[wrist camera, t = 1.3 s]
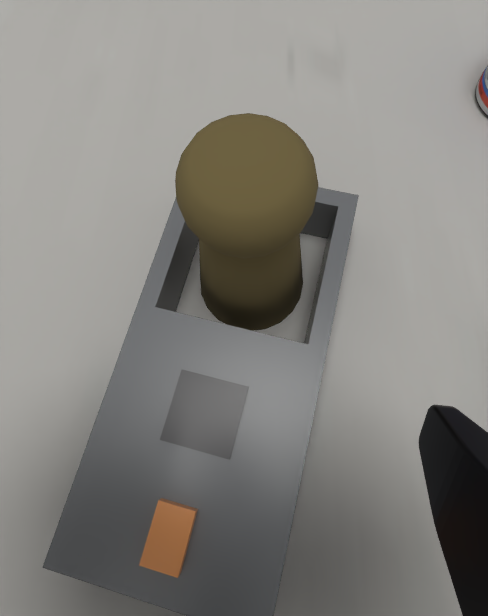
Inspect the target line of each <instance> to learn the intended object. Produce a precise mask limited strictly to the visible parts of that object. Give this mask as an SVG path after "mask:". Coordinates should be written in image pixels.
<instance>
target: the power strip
mask: <svg viewBox="0 0 488 616" xmlns="http://www.w3.org/2000/svg"><path fill="white" fill-rule="evenodd" d="M358 196H359V195H354V194H349V193H344V192H339V191H334V190H329V189H324V188H319V187H318V190H317V195H316V201H315V205H314V209H313V213H312V215H311V216H310V218H309V220H308V221H307V223H306V225H305V226H304V228H303V230H302V231H301V232H300V233H305V234H310V235H315V236H319V237H324V238H328V239H327V243H326V248H325V252H324V257H323V262H322V266H321V271H320V275H319V280H318V284H317V289H316V293H315V298H314V302H313V307H312V311H311V316H310V320H309V325H308V329H307V334H306V338H305V343H301V342H296V341H292V340H288V339H284V338H280V337H276V336H272V335H268V334H264V333H260V332H256V331H251V330H247V329H243V328H239V327H235V326H231V325H227V324H223V323H219V322H215V321H211V320H206V319H202V318H198V317H194V316H190V315H186V314H182V313H178V312H175V311H176V308H177V304H178V301H179V298H180V295H181V292H182V289H183V286H184V283H185V280H186V277H187V274H188V271H189V268H190V265H191V262H192V259H193V256H194V253H195V250H196V247H197V244H198V241H199V238H198V237H197V236H196V235H195V234H194V233H193V232H192V231H191V230H190V229H189V228H188V226H187V224H186V222H185V220H184V217H183V215H182V213H181V211H180V208H179V206H178V203H177V200H176V199H175V201H174V204H173V207H172V210H171V213H170V215H169V218H168V221H167V224H166V226H165V229H164V232H163V235H162V238H161V240H160V243H159V246H158V249H157V251H156V254H155V257H154V260H153V263H152V265H151V268H150V271H149V274H148V276H147V279H146V282H145V285H144V287H143V290H142V293H141V296H140V299H139V301H138V304H137V307H136V310H135V312H134V315H133V318H132V321H131V324H130V326H129V329H128V332H127V335H126V337H125V340H124V343H123V346H122V348H121V351H120V354H119V357H118V360H117V362H116V365H115V368H114V371H113V373H112V376H111V379H110V382H109V385H108V387H107V390H106V393H105V396H104V398H103V401H102V404H101V407H100V410H99V412H98V415H97V418H96V421H95V423H94V426H93V429H92V432H91V434H90V437H89V440H88V443H87V446H86V448H85V451H84V454H83V457H82V459H81V462H80V465H79V468H78V471H77V473H76V476H75V479H74V482H73V484H72V487H71V490H70V493H69V495H68V498H67V501H66V504H65V507H64V509H63V512H62V515H61V518H60V520H59V523H58V526H57V529H56V532H55V534H54V537H53V540H52V543H51V545H50V548H49V551H48V554H47V557H46V559H45V562H44V565H43V568H46V569H49V570H52V571H55V572H58V573H61V574H64V575H67V576H70V577H73V578H76V579H79V580H82V581H85V582H88V583H91V584H94V585H97V586H100V587H103V588H106V589H109V590H112V591H115V592H118V593H121V594H124V595H127V596H130V597H133V598H136V599H139V600H142V601H145V602H148V603H151V604H154V605H157V606H160V607H163V608H165V609H168V610H171V611H174V612H177V613H180V614H183V615H186V616H273V615H274V610H275V605H276V600H277V595H278V590H279V586H280V581H281V576H282V571H283V566H284V561H285V556H286V551H287V546H288V541H289V536H290V531H291V526H292V521H293V516H294V512H295V507H296V502H297V497H298V492H299V487H300V482H301V477H302V472H303V467H304V462H305V457H306V452H307V447H308V443H309V438H310V433H311V428H312V423H313V418H314V413H315V408H316V403H317V398H318V393H319V388H320V383H321V378H322V373H323V369H324V364H325V359H326V354H327V349H328V344H329V339H330V334H331V329H332V324H333V319H334V314H335V309H336V304H337V300H338V295H339V290H340V285H341V280H342V275H343V270H344V265H345V260H346V255H347V250H348V245H349V240H350V235H351V230H352V226H353V221H354V216H355V211H356V206H357V201H358Z"/></svg>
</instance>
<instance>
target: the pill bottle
mask: <svg viewBox="0 0 488 616" xmlns="http://www.w3.org/2000/svg"><path fill="white" fill-rule="evenodd" d="M476 97H477V101H478V103H479V105H480V107H481V108H482V110H483V111H484V112H485V113H486V114H487V115H488V66H487V67H486V69H485V70H484V72H483V74H482V76H481V77H480V79H479V81H478V84H477V88H476Z"/></svg>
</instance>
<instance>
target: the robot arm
mask: <svg viewBox="0 0 488 616" xmlns="http://www.w3.org/2000/svg"><path fill="white" fill-rule="evenodd" d="M419 450H420V455H421V460H422V465H423V470H424V475H425V480H426V485H427V490H428V495H429V500H430V505H431V510H432V515H433V519H434V524H435V527H436V531H437V534H438V538H439V541H440V544H441V547H442V551H443V554H444V557H445V560H446V563H447V567H448V570H449V573H450V576H451V579H452V582H453V586H454V589H455V592H456V595H457V598H458V602H459V605H460V608H461V611H462V614H463V616H488V432H486V431H485V430H484V429H482V428H481V427H480V426H478V425H477V424H476V423H475V422H473V421H472V420H471V419H469V418H468V417H467V416H465V415H464V414H463V413H461V412H460V411H459V410H458V409H456V408H454V407H452V406H442V405H432V406H430V408H429V409H428V412H427V415H426V418H425V421H424V424H423V427H422V430H421V433H420V436H419Z"/></svg>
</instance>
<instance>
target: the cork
mask: <svg viewBox="0 0 488 616" xmlns="http://www.w3.org/2000/svg"><path fill="white" fill-rule="evenodd" d="M175 182H176V200H177V203H178V206H179V208H180V211H181V213H182V215H183V217H184V220H185V222H186V224H187V226H188V228H189V229H190V230H191V231H192V232H193V233H194V234H195V235H196V236H197V237H198V238H199V251H200V280H201V294H202V296H203V299H204V301H205V303H206V306H207V308H208V309H209V310H210V311H211V312H212V313H213V314H214V316H215V317H216V318H217V319H218V320H220V321H222V322H223V323H225V324H227V325H231V326H235V327H239V328H243V329H247V330H260V329H266V328H268V327H271V326H273V325H275V324H278V323H280V322H281V321H282V320H283V319H285V318H286V317H287V316H288V315H289V314H290V313H291V312H292V311H293V310H294V308H295V306H296V304H297V303H298V301H299V299H300V296H301V290H302V285H303V278H302V264H301V250H300V236H299V234H300V232H301V231H302V230H303V228H304V226H305V225H306V223H307V221H308V220H309V218H310V216H311V215H312V213H313V209H314V205H315V201H316V195H317V190H318V180H317V174H316V169H315V163H314V158H313V156H312V154H311V152H310V151H309V149H308V147H307V146H306V144H305V142H304V141H303V140H302V139H301V137H300V136H299V135H298V134H297V133H295V132H294V131H293V130H292V129H291V128H289V127H288V126H287V125H286V124H285V123H282V122H280V121H278V120H275V119H273V118H271V117H269V116H263V115H257V114H250V113H247V114H238V115H229V116H227V117H224V118H222V119H219V120H216V121H214V122H211V123H210V124H209V125H207V126H206V127H205V128H203V129H202V130H200V131H199V132H198V133H197V134H196V135H195V136H194V138H193V139H192V140H191V142H190V143H189V145H188V146H187V147H186V149H185V150H184V152H183V153H182V155H181V158H180V161H179V164H178V167H177V171H176V180H175Z"/></svg>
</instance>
